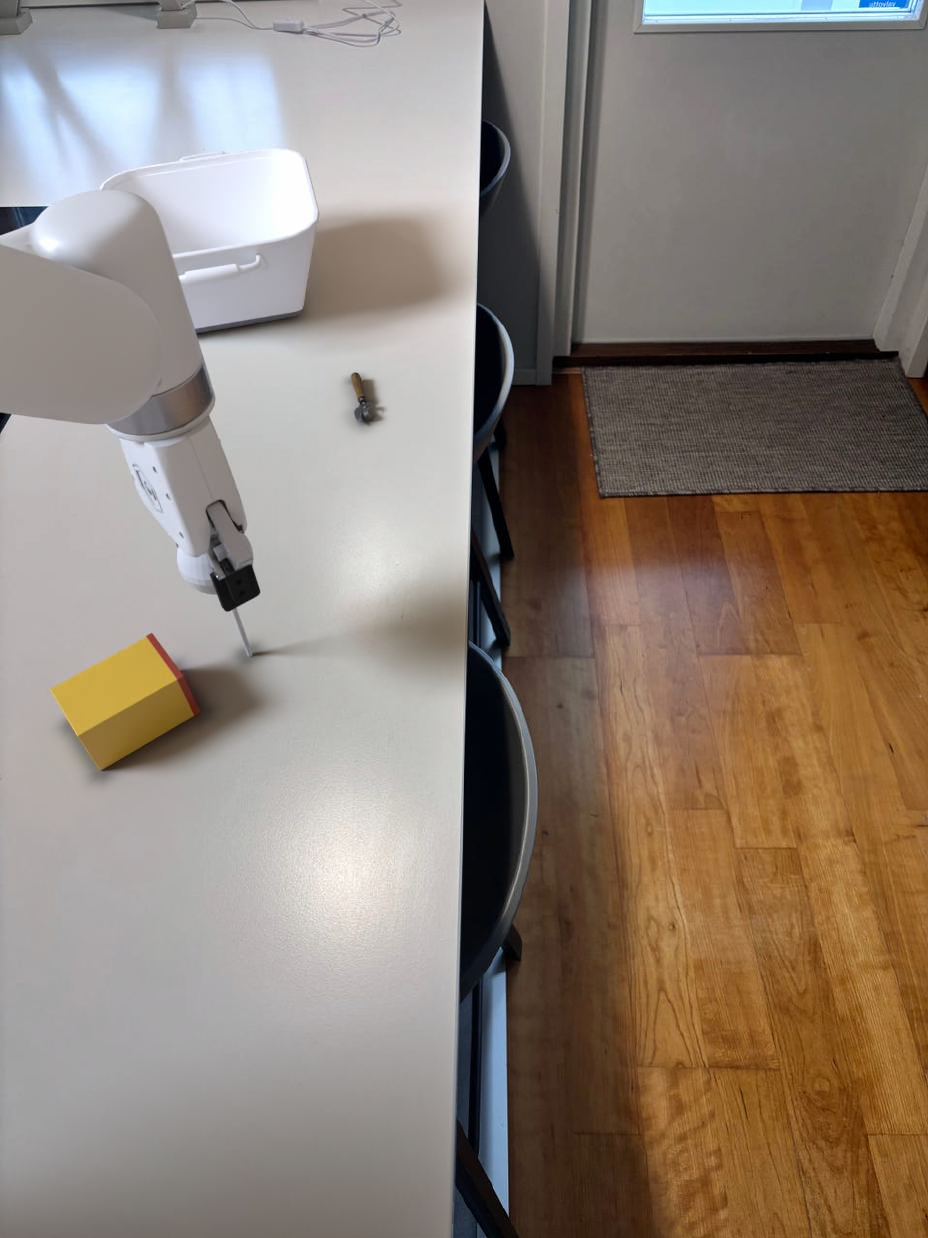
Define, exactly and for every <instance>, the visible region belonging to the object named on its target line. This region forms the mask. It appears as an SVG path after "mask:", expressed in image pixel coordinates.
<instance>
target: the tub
mask: <svg viewBox="0 0 928 1238" xmlns="http://www.w3.org/2000/svg"><path fill="white" fill-rule="evenodd" d="M98 190H122V191H127V192H130V193H133V194H136V195H138V196H140V197H142V198H144V199H145V200H146V201H147V202H149V203H150V204H151V205H152V206H153V208H154V209H155V210H156V212H157V214H158V215H159V217H160V219H161V222H162V225H163V228H164V230H165V233H166V236H167V240H168V243H169V246H170V250H171V253H172V256H173V259H174V263H175V266H176V269H177V272H178V276H179V279H180V282H181V286H182V289H183V292H184V295H185V299H186V302H187V305H188V309H189V312H190V315H191V318H192V322H193V325H194V328H195V331H196V334H200V333H201V334H202V333H208V332H213V331H219V330H226V329H232V328H236V327H238V328H239V327H243V326H249V325H254V324H260V323H261V324H262V323H266V322H272V321H278V320H284V319H289V318H294V317H295V318H296V317H297V316H299V315H300V314H301V313H302V312H303V309H304V306H305V299H306V293H307V286H308V279H309V275H310V274H309V273H310V268H311V261H312V255H313V249H314V242H315V236H316V231H317V226H318V224H319V220H320V209H319V206H318V201H317V198H316V197H317V196H316V194H315V190H314V185H313V181H312V177H311V174H310V170H309V165H308V162H307V158H305V157H304V156H303V154H302V153H301V152H298V151H296V150H294V149H291V148H282V147H265V148H256V149H250V150H249V149H248V150H243V151H236V152H235V151H234V152H225V151H223V150H221V151H209V152H202V153H196V154H191V155H185V156H182V157H180V159H179V160H176V161H171V162H169V161H168V162H164V163H156V164H150V165H144V166H139V167H135V168H130V169H126V170H123V171H120V172H118V173H116V174H113V175H111V176H109V178H107V179H106V180H104V181H103V182H102V183H101V184H100V186H99V188H98Z"/></svg>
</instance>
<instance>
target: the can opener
mask: <svg viewBox="0 0 928 1238" xmlns="http://www.w3.org/2000/svg"><path fill="white" fill-rule="evenodd" d="M350 379H351V385H352V387H353V389H354V392H355V394H356V398H357V402H358V404H359V405H358V406H357V407H356V408H355V409H354V410H353V414H354V415H353V416H354V418H355V419H356V421H358V422H359V423H362V424H364V420H363V417H362V413H363V416H364V419H365V421H369V420H371V416H370V412H369V410H368V407H371V410H373V409H374V408H375V404H374V403H373V402H367V401H368V399H367V395H366V393H365V387H364V382H363V380H362V377H361V375H360V374H359V372H356V371H355V372H352V373H351V375H350Z"/></svg>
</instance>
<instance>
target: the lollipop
mask: <svg viewBox="0 0 928 1238" xmlns="http://www.w3.org/2000/svg"><path fill="white" fill-rule="evenodd" d="M238 533H239V532H238ZM213 534H215V531H214V530H213V528H212V529H211V535H213ZM239 534H240V536H241V538H242V540H243V541H244V543H245V545H246V547H247V548H248V550H249V552H250V554H251V555H252V558H253V559H254V551H253V547H252V544H251V541H250V540H249V538H248V536H247V535H246V534H245V533H244V534H242V533H239ZM213 549H214V551H215V554H216V556H217V558H218V560H219V562H220V561H221V560H222V559H224V558H226V557H227V553H226V551H225V549H224V547H223V545H222V544H220V545H218V546H216V547H215V548H213ZM176 563H177V567H178V571H179V573H180V575H181V577H182V578H183V580H184V581H185V582H186V583H187V584H188V585H189V586H190V587H191V588H192V589H194V590H196V591H199V592H200V593H203V594H207V595H214V596H216V595H217V593H216V591H215V588H214V585H213V582H212V580H211V577H210V574H211V573H212V572H213V570H212V568H211V566H210V564H209V562H208V560H207V558H206V556H205V554H203V555H200V557H197V558H196V557H192V556H189V555H187V554H186V553H185V552H184V551H183V550H182V549H181V548H180V547H179V546H178V547H177V550H176ZM253 565H254V560H253V561H252V566H253ZM230 612H231V613H232V617H233V619H234V621H235V624H236V627H237V629H238V633H239V636H240V638H241V641H242V644H243V646H244V649H245V653H246V655H247V657H250V658H251V657H252V656H253V654H254V653H253V650H252V648H251V645H250V641H249V639H248V637H247V633H246V631H245V628H244V624H243V622H242V620H241V617H240V614H239V611H238V607H237V608H235V609H233V610H231V611H230Z"/></svg>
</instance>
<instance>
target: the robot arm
mask: <svg viewBox="0 0 928 1238" xmlns="http://www.w3.org/2000/svg"><path fill="white" fill-rule="evenodd" d="M215 404H216V394H215V390H214V388H213V384H212V381H211V377H210V374H209V370H208V367H207V363H206V360H205V357H204V354H203V351H202V348H201V344H200V341H199V338H198V334H197V333H196V331H195V328H194V325H193V322H192V318H191V315H190V312H189V309H188V305H187V302H186V299H185V295H184V292H183V289H182V286H181V282H180V279H179V276H178V272H177V269H176V266H175V263H174V259H173V256H172V253H171V250H170V246H169V243H168V240H167V236H166V233H165V230H164V228H163V225H162V222H161V219H160V217H159V215H158V214H157V212H156V210H155V209H154V208H153V206H152V205H151V204H150V203H149V202H147V201H146V200H145V199H144V198H142V197H140V196H138V195H136V194H133V193H130V192H127V191H122V190H99V189H97V190H96V189H95V190H89V191H85V192H80V193H76V194H73V195H70V196H67V197H65V198H62V199H60V200H58V201H55V202H54V203H52V204H51V205H48V207H46V208H45V209H44V210H43V211H42V212H41V213H40V214H39V215H38V216H37V218H36V219H35V220H34V221H33V222H32V223H30V224H27V225H25V226H22V227H19V228H18V229H15V230H12V231H9V232H6V233H4V234H1V235H0V413H2V414H8V415H16V416H22V417H28V418H29V417H30V418H35V419H36V418H37V419H46V420H52V421H61V422H67V423H68V422H69V423H75V424H83V425H94V426H95V425H105V427H106V429H107V430H108V431H109V432H110V433H111V434H112V435H114V436H115V437H117V438H118V440H119V441H118V442H119V444H120V446H121V449H122V452H123V455H124V458H125V460H126V464H127V466H128V468H129V472H130V474H131V477H132V480H133V483H134V486H135V488H136V491H137V493H138V495H139V498H140V499H141V501H142V503H143V504H144V506H145V508H147V510H148V511H149V512H150V514H151V515H152V516H153V518H154V519H155V520H156V521H157V522H158V524H159V525H160V526H161V527H162V529H164V531H165V532H166V533H167V534H168V536H169V537H170V538H171V539H172V540H173V541H174V542H175V544H176V547H177V548H178V546H179V547H180V548H181V549H182V550H183V551H184V552H185V553H186V554H187V555H189V556H192V557H196V558H197V557H200V555H203V554H205V556H206V558H207V560H208V562H209V564H210V566H211V568H212V570H213V572H212V573H211V574H210V577H211V580H212V582H213V585H214V588H215V591H216V593H217V599H218V601H219V604H220V607H221V608H222V609H223V611H224V612H226V613H229V612H232V611H231V610H233V609H235V608H237V609H238V607H240V606H243V605H244V604H246V603H248V602H250V601H251V600H253V599H255V598H257V597H258V596H259V595H260V594H261V588H260V585H259V582H258V578H257V576H256V573H255V570H254V567H253V566H252V561H253V562H254V557H253V558H252V555H251V554H250V552H249V550H248V548H247V547H246V545H245V543H244V541H243V540H242V538H241V536H240V534H239V533H242V534H245V533H246V531H247V528H248V520H247V516H246V512H245V508H244V504H243V501H242V499H241V495H240V492H239V489H238V486H237V483H236V480H235V478H234V475H233V472H232V470H231V466H230V464H229V461H228V458H227V456H226V453H225V451H224V448H223V446H222V442H221V439H220V438H219V436H218V432H217V431H216V428H215V426H214V423H213V421H212V419H211V415H210V414H211V413H212V412H213V409H214V408H215ZM212 528H213V530H214V531H215V534H213V535H211V529H212ZM238 532H239V533H238ZM220 544H222V545H223V547H224V549H225V551H226V553H227V557H226V558H224V559H222V560H221V561H220V562H219V560H218V558H217V556H216V554H215V551H214V549H213V548H215V547H216V546H218V545H220Z"/></svg>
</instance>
